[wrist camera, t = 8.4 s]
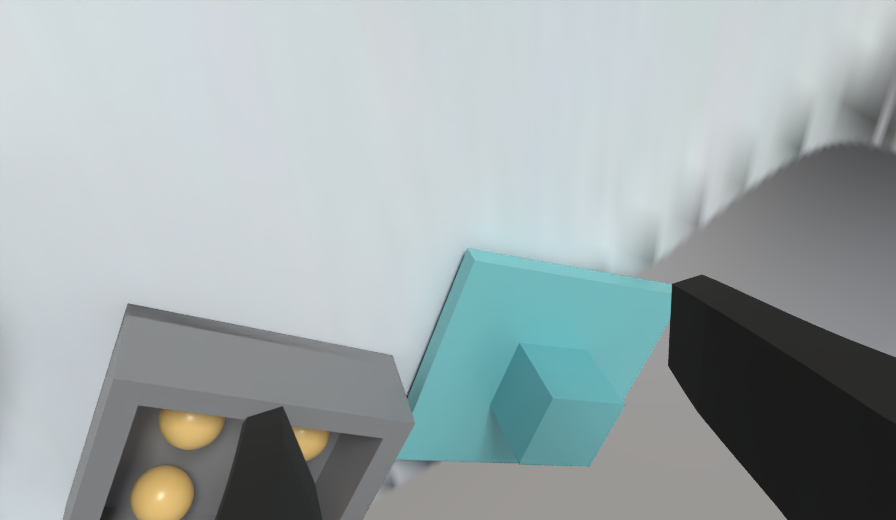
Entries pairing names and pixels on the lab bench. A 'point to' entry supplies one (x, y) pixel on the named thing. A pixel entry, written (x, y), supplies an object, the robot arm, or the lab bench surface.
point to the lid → (531, 362)
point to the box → (231, 417)
